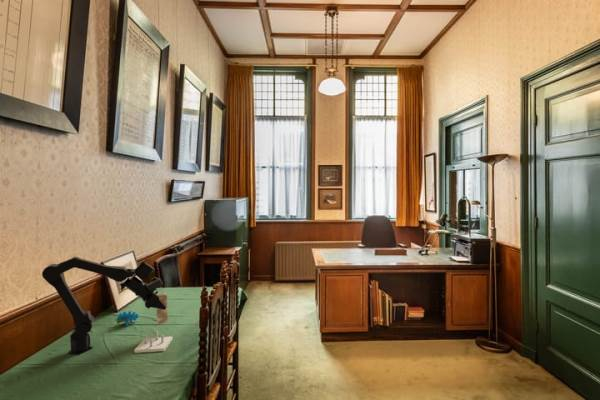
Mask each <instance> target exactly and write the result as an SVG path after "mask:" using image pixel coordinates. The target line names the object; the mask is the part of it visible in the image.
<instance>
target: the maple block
mask: <svg viewBox="0 0 600 400" xmlns="http://www.w3.org/2000/svg"><path fill="white" fill-rule="evenodd" d="M157 295H159V300H160V301H161V302H162V303H163V305H164V306H165V307H166V309H165V310H163V309H158V308H156V322H157V325H161V324H167V323H169V321H168V320H169V317H168V294H167V292H166V291H165V292H160V293H159V292H158V294H157Z"/></svg>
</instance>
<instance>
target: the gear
mask: <svg viewBox="0 0 600 400" xmlns="http://www.w3.org/2000/svg"><path fill="white" fill-rule="evenodd" d="M137 319H139V313H137V312H136V311H133V312H132V311H130V310H128V311H124V312H122V313H121V312H120V313H119V314H117V316H116V317H115V318H114V322H116V327H117V328H119V325H120V323H125V327H129V322H130V323H132V322H133V321H137Z"/></svg>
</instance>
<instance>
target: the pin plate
mask: <svg viewBox="0 0 600 400" xmlns="http://www.w3.org/2000/svg"><path fill="white" fill-rule="evenodd" d="M173 339H174V338H173V336H164V334H161V335H160V337H159V332H155V336H154V337H148V336H147V335H144V339H143V340H141V342H140V343H139V344H138V345H137V347H135V349H134V354H138V353H139V354H140V353H153V352H154V353H155V352H165V351H166V349H167V348H168V346H169V345H170V343H171V342H172V341H173Z"/></svg>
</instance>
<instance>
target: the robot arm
mask: <svg viewBox="0 0 600 400" xmlns="http://www.w3.org/2000/svg"><path fill="white" fill-rule="evenodd" d="M73 268H74V269H75V268H76V269H79V270H84V271H86V272H90V273H96V274H99V275H103V276H104V277H107V278H108V279H111V280H113V281H115V282H117V283H120V284H119V285H120V290H121V291H122V290H124V289H125V288H127V289H128V290H129V291H131V292H132V293H133V294H134V295H135V296H136V297H139V298H140V299H141V300H142V301H143V302H144V307H145V308H147V309H148V310H149V309H150V308H153V309H157V308H158V309H163V310H165V309H166V307H165V306H164V305H163V303H162V302H161V301H160V300H159V295H157V294H158V293H159V291H158V290H157V289H158V288H160V287H163V286H164V283H163V282H162V280H161V278H160V277H156V276H154V277H152V278H151V281H150V282H149V283H147V282H144V281H142V280H147V279H148V277H149V276H150V275H151V274H152V273H153V272H154V271H155V268H154V267H153V266H152V265H151V264H149V263H147V262H145V261H144V260H142V261H141V262H140V263H139V264H138V265H137V266H136V267H135V268H126V267H124V266H119V265H107V264H102V263H98V262H94V261H92V260H87V259H84V258H81V257H78V256H74V257H71V258H70V259H67V260H65V261H62V262H59V263H52V264H49V265H48V266H46V267H45V268H44V269H43V271H42V272H41V275H42V278H43V279H44V280H45V281H46V283H48V284H49V285H50V286H51V287H52V288H54V289H55V290H56V292H57V294H58V295H59V297H60V299H61V300H62V302H63V303H64V305H65V306H66V308H67V310H68V312H69V314H70V315H71V316H72V320H73V325H74V328H73V329H72V331H71V334H70V335H69V339H70V341H69V342H70V349H69V351H67V353H68V354H74V355H81V354H83V353H85V352H87V351H89V350H91V349H93V347H94V346H91V336H90V333H89V332H91V330H92V329H93V326H94V322H95V321H94V319H95V318H94V316H93V315H92V314H91V311H90V309H89V310H87V311H86V310H84V309H83V308H82V305H80V303H79V301H78V299H77V298H76V297H75V294H74V293H73V292H72V290H71V288H70V287H69V285H68V283H67V282H66V277H65V274H64V273H65V272H67V271H70V270H72V269H73Z"/></svg>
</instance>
